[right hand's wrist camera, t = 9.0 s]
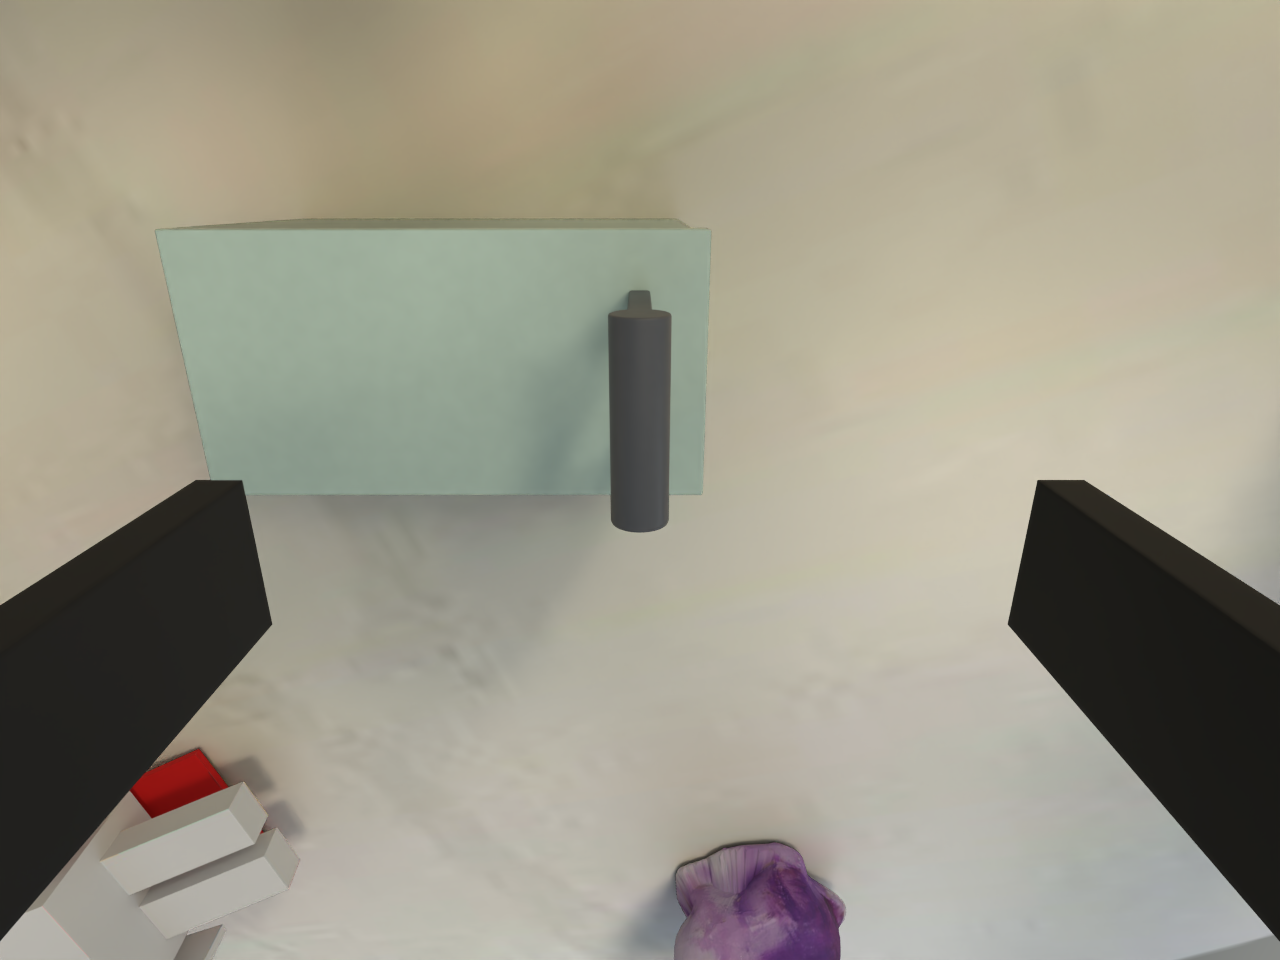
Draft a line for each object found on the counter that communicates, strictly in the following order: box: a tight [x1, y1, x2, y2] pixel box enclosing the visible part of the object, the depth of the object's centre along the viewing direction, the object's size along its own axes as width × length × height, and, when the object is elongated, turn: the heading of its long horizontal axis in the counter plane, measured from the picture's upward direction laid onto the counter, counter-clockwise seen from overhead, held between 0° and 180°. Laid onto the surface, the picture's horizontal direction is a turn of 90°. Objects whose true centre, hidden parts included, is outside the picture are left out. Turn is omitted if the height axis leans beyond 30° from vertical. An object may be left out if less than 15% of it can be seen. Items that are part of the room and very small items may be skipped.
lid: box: [155, 228, 711, 532], centre depth 22 cm, size 18×9×8 cm, turn 90°
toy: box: [0, 749, 300, 960], centre depth 43 cm, size 12×13×30 cm
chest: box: [179, 219, 691, 228], centre depth 31 cm, size 17×9×10 cm, turn 90°
